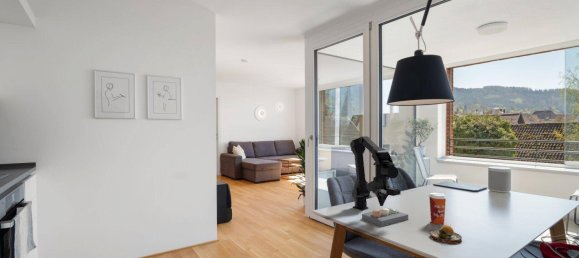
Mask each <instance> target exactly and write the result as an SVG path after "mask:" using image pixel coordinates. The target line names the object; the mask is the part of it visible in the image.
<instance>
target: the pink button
mask: <svg viewBox="0 0 579 258" xmlns="http://www.w3.org/2000/svg"><path fill="white" fill-rule="evenodd" d="M379 210H380V209H378V210H377V209H373V210H372V211H371V212H372V217H374V218H381V211H379Z"/></svg>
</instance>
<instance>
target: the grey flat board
mask: <svg viewBox="0 0 579 258" xmlns="http://www.w3.org/2000/svg"><path fill="white" fill-rule="evenodd" d="M387 209H390V208H387ZM378 210H379V211H381V209H378ZM361 220H364V221H367V222H369V223H372V224H374V225H377V226H380V227H386V226H389V225H392V224H397V223H400V222H404V221H408V220H409V214H407V213H404V212H400V211H398V210H397V214H391V213H389V216H383V215H381V218H374V217H372V211H370V212H364V213H362V214H361Z"/></svg>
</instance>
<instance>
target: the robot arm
mask: <svg viewBox="0 0 579 258" xmlns="http://www.w3.org/2000/svg"><path fill="white" fill-rule="evenodd" d="M349 146H350V151H351V153H352V154H353V155H354V163H355V164H354V165H355V175H356V176H355V177H356V181H355V183H354V188H353V189H352V191H351V197H352V198H354V205H353V206H352V208H354V209H357V210H359V211H360V210H366V209H369V207H368V206H367V205H368V203H367V201H368V200H367V199H368V198H370V194H371V192H372V193H373V194H374V195H375V196H376V198H377V200H378V204H379V206H380V207H383V206H384V204H385V202H386V200H387V199H388V197H389V196H391V197H395V196H400V195H402V194H401V193H402V192H401V189H400V188H398V187H390V184H388V180H390V179H392V180H393V179H397V177H398V176H399V169H398V168H397V167H396V166H395V163H394V162H393V158H392V157H391V154H390V152H389V151H388V149H385V148H383V147H379V146H378V144H376V143H375V142H374V141H373V140H372V139H371V138H370V137H369V136H367V135H362V136H360V137H358V138H354V139H352V140H351V141H350V143H349ZM366 149H367V150H368V151H369V152H370V153H371V158H372V159H373V161H374V162H373V164H372V165H373V166H374V169H375V170H374V172H375V176H373V178H372V180H371V181H369V182H368V181H367V179H366V171H365V170H366V169H365V162H364V155H365V154H364V153H365V151H366Z"/></svg>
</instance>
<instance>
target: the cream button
mask: <svg viewBox="0 0 579 258" xmlns="http://www.w3.org/2000/svg"><path fill="white" fill-rule="evenodd" d="M389 209H390V208H389ZM389 209H387V208H386V207H383V208H382V207H381V208H380V210H381V215H383V216H389Z"/></svg>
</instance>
